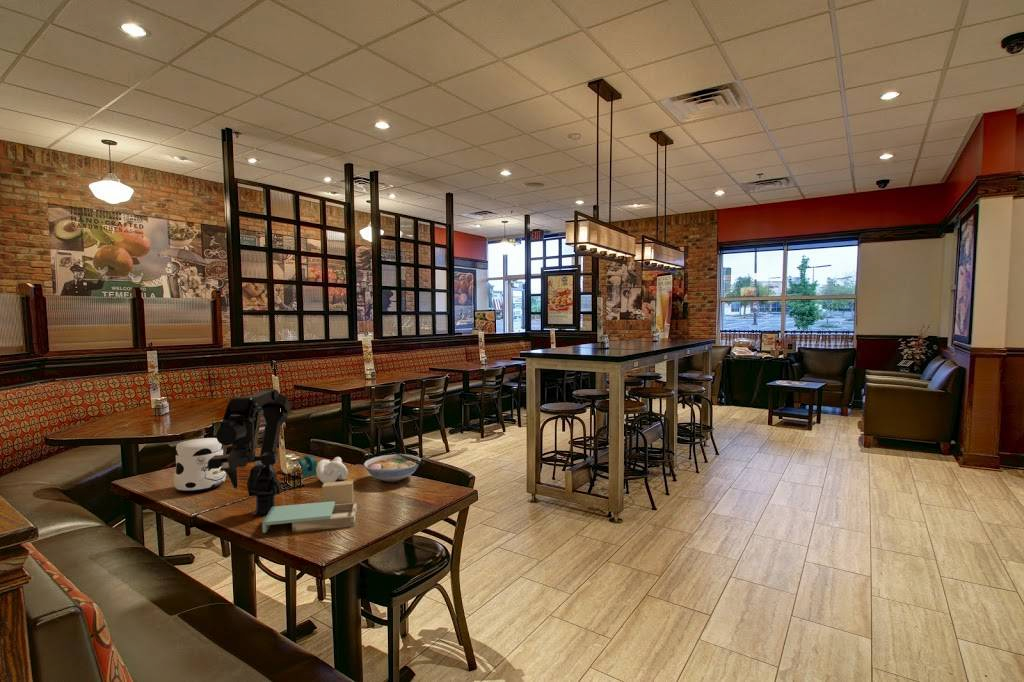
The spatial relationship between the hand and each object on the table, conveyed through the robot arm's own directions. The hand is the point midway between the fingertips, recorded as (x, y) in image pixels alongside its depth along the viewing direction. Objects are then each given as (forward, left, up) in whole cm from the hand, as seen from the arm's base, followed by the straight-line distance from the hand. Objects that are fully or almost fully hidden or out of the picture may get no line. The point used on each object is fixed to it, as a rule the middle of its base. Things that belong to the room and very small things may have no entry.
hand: (245, 487), depth 150 cm
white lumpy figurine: (-44, +21, -13) cm, 50 cm away
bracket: (-59, +4, -14) cm, 60 cm away
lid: (0, +16, -12) cm, 20 cm away
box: (0, +24, -13) cm, 27 cm away
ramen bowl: (-39, +45, -13) cm, 60 cm away
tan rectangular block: (-17, +26, -13) cm, 33 cm away
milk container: (-48, -28, -13) cm, 57 cm away
